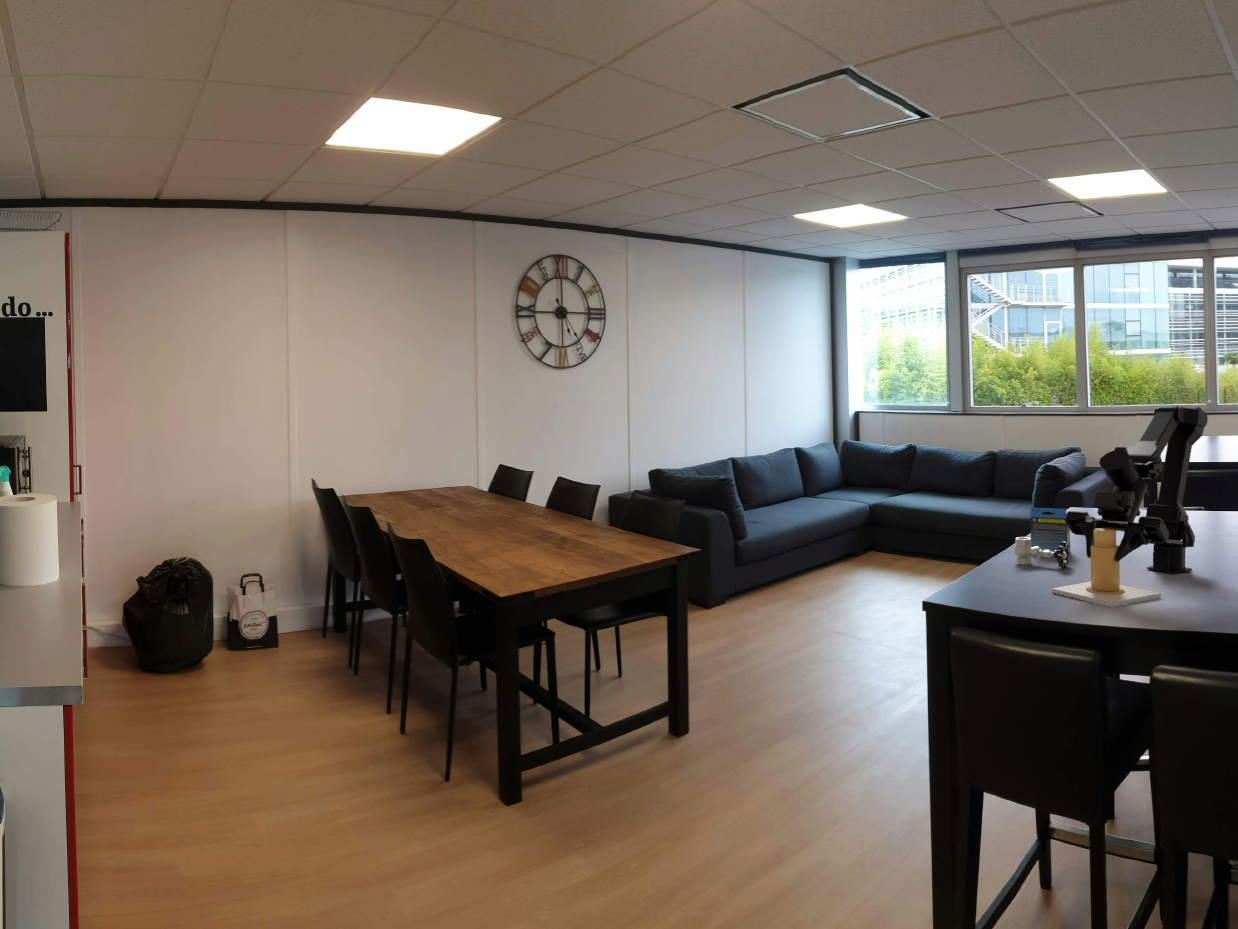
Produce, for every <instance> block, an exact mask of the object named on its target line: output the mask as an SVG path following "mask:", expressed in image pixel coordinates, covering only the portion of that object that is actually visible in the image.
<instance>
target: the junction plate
mask: <svg viewBox="0 0 1238 929" xmlns="http://www.w3.org/2000/svg"><path fill="white" fill-rule="evenodd" d="M1051 593H1052V594H1054V593H1056V594H1055V595H1058V594H1060V595H1059V596H1062V595H1064V596H1063V597H1067V596H1068V597H1067V598H1071V597H1073V598H1072V599H1075V598H1077V599H1076V600H1079V599H1080V601H1083V600H1084V602H1088V603H1091V602H1093V604H1096V603H1097V604H1096V605H1100V604H1101V606H1104V605H1105V606H1104V607H1108V606H1109V607H1108V608H1116V607H1115V606H1117V607H1121V606H1120V605H1122V606H1125V605H1124V604H1127V605H1130V604H1129V603H1132V604H1134V603H1133V602H1138V603H1141V602H1140V601H1143V602H1147V601H1146V600H1148V601H1151V600H1150V599H1153V600H1157V599H1156V598H1158V599H1161V598H1162V597H1161V596H1162V594H1161V593H1160V592H1157V591H1153V590H1152V591H1151V590H1147V589H1144V588H1143V589H1142V588H1139V587H1138V588H1137V587H1133V586H1128V585H1123V584H1120V590H1118V591H1100V590H1095V589H1092V588H1091V581H1087V582H1081V583H1075V584H1070V585H1064V586H1058V587H1053V588H1051ZM1160 597H1161V598H1160Z"/></svg>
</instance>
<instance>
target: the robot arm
mask: <svg viewBox="0 0 1238 929" xmlns="http://www.w3.org/2000/svg"><path fill="white" fill-rule="evenodd" d="M1153 413H1154V414H1153V415H1154V416H1153V417H1152V419H1151V421H1150V422H1149V425H1148V426H1147V427H1146V429H1145V431H1144V433H1143V434H1142V436H1141V438H1140V439H1139V441H1138V442H1137V443H1136V444H1134V445H1131V446H1129V447H1128V448H1127V447H1126V446H1116V447H1115V448H1114V450H1112V451H1111V450H1110V451H1109V452H1107V453H1105V454H1104V455H1103V456H1102V457H1100V458H1099V466H1100V467H1101V469H1102V472H1103V473H1104V475H1105V478H1106V479H1107V481H1108V483H1109V484H1110V485H1112V486H1113V487H1114V488H1113V489H1112V490H1113V491H1103V490H1102V491H1101V490H1095V492H1094V496H1093V502H1092V507H1094V508H1096V509H1097V512H1096V513H1097V515H1098V516H1100V517H1101V518H1095V517H1094V516H1090V514H1089V513H1088V511H1081V510H1080V511H1078V510H1069V511H1066V516H1065V518H1064V520H1065V522H1066V524H1067V525H1068V527H1069V529H1070V533H1072V534H1074V535H1075V536H1076V535H1077V536H1084V537H1085V548H1086V549H1085V550H1086V551H1085V552H1086V556H1087V558H1089V559H1091V545H1093V544H1094V529H1096V528H1109V529H1115V530H1116V532H1123V537H1122V539H1121V541H1120V543H1119V545H1118V546H1119V547H1118V549H1117V552H1116V555H1115V560H1116V561H1119V560H1120V561H1121V560H1122V559H1124V558H1125V557H1127V555H1129V554H1130V553H1132V552H1133V551H1135V550H1137V549H1139V548H1140V547H1142V546H1145V545H1146V546H1147V545H1153V549H1152V550H1153V551H1152V565H1151V566H1147V567H1146V569H1147V570H1150V571H1156V572H1160V573H1161V572H1162V573H1166V574H1170V575H1172V574H1173V575H1175V574H1180V573H1186V572H1193V568H1191V567H1186V549H1187V548H1194V547H1195V541H1196V535H1195V533H1194V531H1193V529H1192V528H1191V524H1190V523H1189V515H1188V514H1187V511H1186V510H1185V508H1184V506H1183V502H1184V496H1185V490H1186V483H1187V477H1188V473H1189V466H1190V459H1191V454H1192V448H1193V445H1194V444H1195V443H1196V442H1198V440H1200V439H1201V437H1202V436H1203V434H1204V431H1205V427H1206V426H1207V425H1208V420H1209V419H1208V413H1207V412H1206V411H1204V410H1203V409H1202V408H1201V407H1200V406H1192V407H1191V406H1190V407H1187V406H1186V407H1184V406H1179V405H1161V406H1159V407H1155V409H1154V412H1153ZM1165 448H1166V450H1165V452H1166V453H1165V458H1164V463H1163V460H1162V454H1163V452H1164V449H1165ZM1161 473H1162V474H1161ZM1160 474H1161V475H1162V476H1161V481H1160V487H1159V491H1158V492H1159V493H1158V497H1157V500H1156V501H1155V502H1154V503H1153V504H1148V505H1147V507H1146V515H1145V516H1144V515H1143V516H1140V515H1141V511H1140V507H1141V504H1142V502H1143V499H1144V497H1149V490H1148V484H1147V481H1146V480H1155V479H1157V478H1158V476H1159V475H1160ZM1145 479H1146V480H1145ZM1136 517H1139V518H1138V522H1135V519H1136Z"/></svg>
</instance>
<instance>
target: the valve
mask: <svg viewBox="0 0 1238 929" xmlns="http://www.w3.org/2000/svg"><path fill="white" fill-rule="evenodd" d="M1014 539H1015V540H1014V543H1015V547H1014V556H1015V564H1016V563H1018V564H1025V565H1024V566H1027V565H1026V564H1031V565H1032V563H1033V562H1032V560H1033V559H1038V560H1039V559H1040V558H1041V557H1042V556H1043V557H1044V558H1051V557H1053V558H1054V559H1056V562H1057V563H1058V567H1060V568H1062V569H1067V568H1068V565H1069V564H1070V563H1071V561H1070V559H1069V557H1070V556H1071V554H1072V552H1071V550H1070V551H1069V550H1068V549H1069V547H1070V548H1071V544H1070V545H1069V544H1067V542H1061V544H1063V546H1059V547H1058V550H1055V551H1054V552H1051V550H1044V551H1043V550H1042V549H1040V547H1036V546H1035V547H1034V548H1033V547H1031V537H1025V536H1020V537H1019V536H1018V537H1015V538H1014ZM1032 557H1033V559H1032ZM1018 564H1017V565H1018Z"/></svg>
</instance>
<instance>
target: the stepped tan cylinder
mask: <svg viewBox="0 0 1238 929" xmlns="http://www.w3.org/2000/svg"><path fill="white" fill-rule="evenodd" d="M1118 547H1119V545H1117V531H1116V530H1115V529H1109V528H1096V529H1094V544H1093V545H1091V557H1090V582H1091V588H1092V589H1095V590H1100V591H1118V590H1120V585H1121V583H1120V582H1121V581H1120V576H1121V575H1120V574H1121V573H1120V571H1121V570H1120V561H1121V560H1119V561H1116V560H1115V555H1116V552H1117V549H1118Z"/></svg>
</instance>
